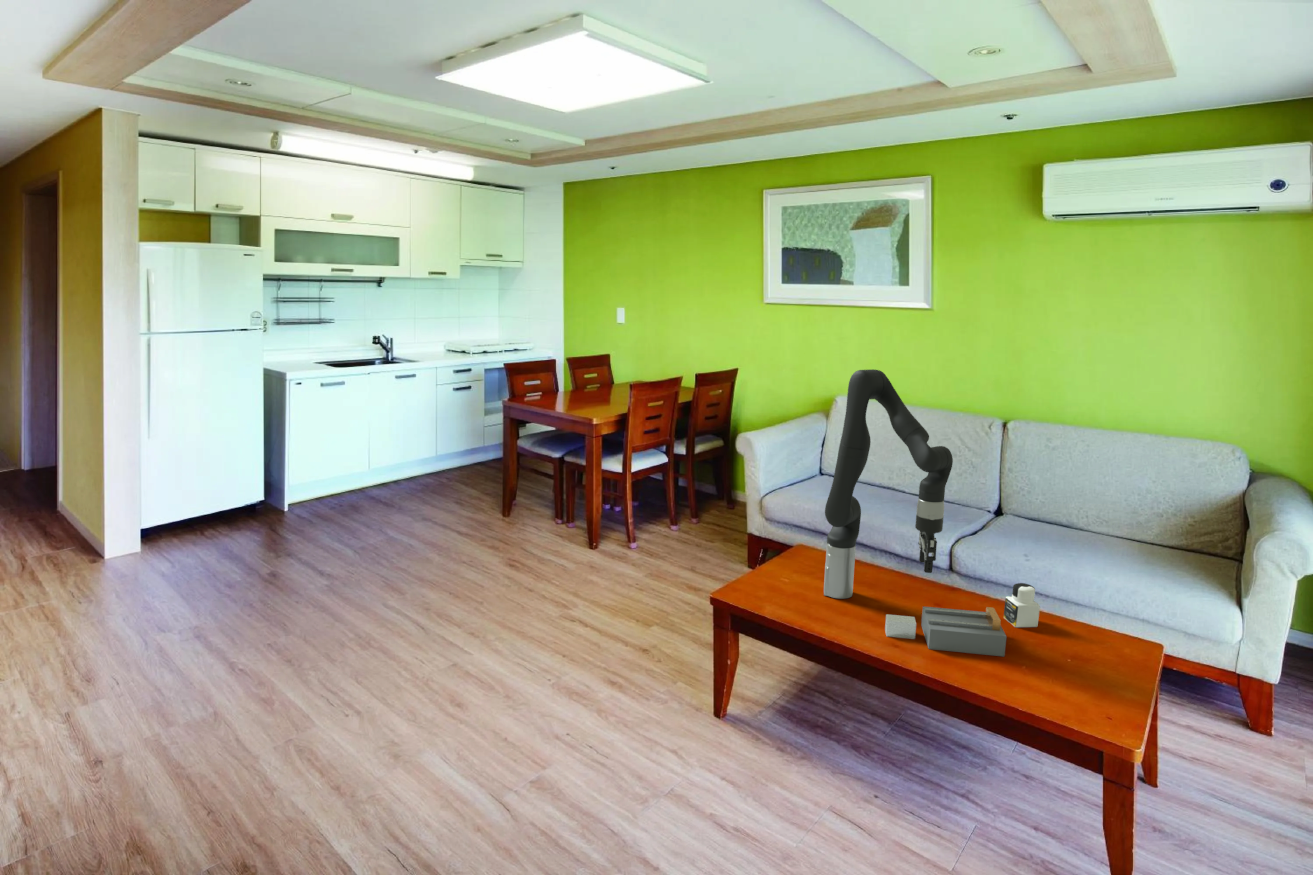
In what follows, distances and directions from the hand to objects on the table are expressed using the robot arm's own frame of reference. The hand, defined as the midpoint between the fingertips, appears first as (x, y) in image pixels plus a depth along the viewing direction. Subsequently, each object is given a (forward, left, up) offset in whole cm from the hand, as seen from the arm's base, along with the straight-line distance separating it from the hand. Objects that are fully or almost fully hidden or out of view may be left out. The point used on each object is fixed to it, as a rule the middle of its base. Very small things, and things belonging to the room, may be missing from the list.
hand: (925, 567), depth 227 cm
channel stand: (+10, -6, -19) cm, 23 cm away
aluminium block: (-7, -6, -19) cm, 21 cm away
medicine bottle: (+30, +11, -19) cm, 38 cm away
